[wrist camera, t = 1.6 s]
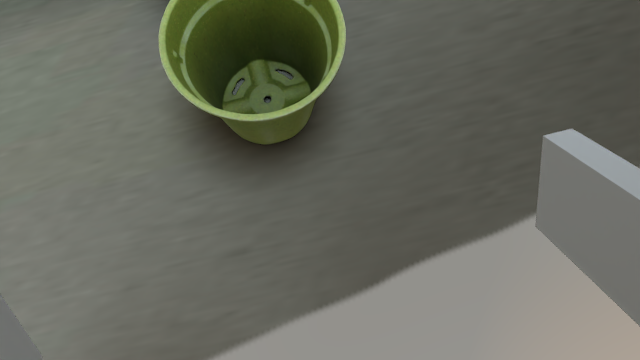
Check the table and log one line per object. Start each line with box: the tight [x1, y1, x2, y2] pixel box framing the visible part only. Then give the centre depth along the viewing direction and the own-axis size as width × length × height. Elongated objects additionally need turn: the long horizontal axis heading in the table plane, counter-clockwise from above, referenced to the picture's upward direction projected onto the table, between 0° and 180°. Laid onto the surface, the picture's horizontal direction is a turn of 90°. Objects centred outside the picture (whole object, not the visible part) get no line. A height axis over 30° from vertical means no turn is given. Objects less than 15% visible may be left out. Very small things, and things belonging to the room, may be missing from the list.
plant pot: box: [159, 0, 346, 144], centre depth 28 cm, size 9×9×9 cm
